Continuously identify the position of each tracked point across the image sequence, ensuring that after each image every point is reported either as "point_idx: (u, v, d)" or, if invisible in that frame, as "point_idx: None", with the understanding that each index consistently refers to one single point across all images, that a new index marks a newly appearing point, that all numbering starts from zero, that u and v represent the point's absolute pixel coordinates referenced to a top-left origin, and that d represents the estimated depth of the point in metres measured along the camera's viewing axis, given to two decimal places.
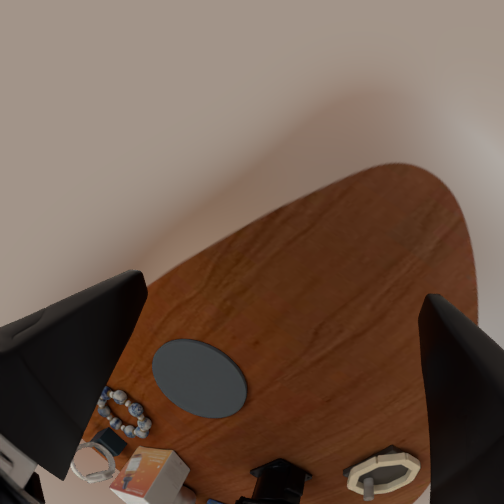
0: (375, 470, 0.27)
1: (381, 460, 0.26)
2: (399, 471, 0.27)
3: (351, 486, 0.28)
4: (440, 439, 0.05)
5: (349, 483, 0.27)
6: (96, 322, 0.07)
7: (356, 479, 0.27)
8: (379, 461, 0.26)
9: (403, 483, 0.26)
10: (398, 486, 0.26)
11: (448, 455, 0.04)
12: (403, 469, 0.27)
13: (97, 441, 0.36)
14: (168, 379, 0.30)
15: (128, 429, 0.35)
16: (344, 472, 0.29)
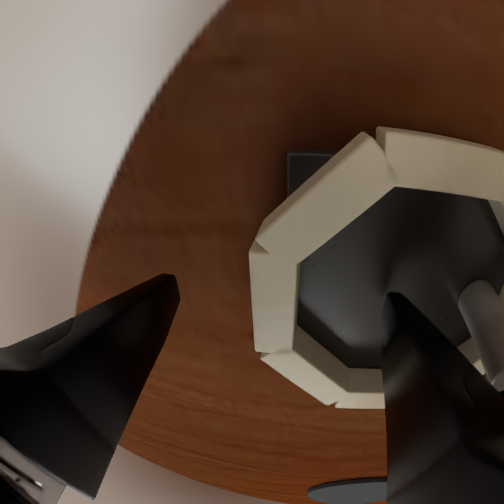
0: None
1: None
2: (375, 236, 0.07)
3: None
4: (395, 443, 0.05)
5: None
6: (131, 331, 0.07)
7: None
8: None
9: (423, 172, 0.05)
10: (459, 171, 0.05)
11: (401, 461, 0.04)
12: (355, 234, 0.08)
13: None
14: (375, 498, 0.21)
15: None
16: None
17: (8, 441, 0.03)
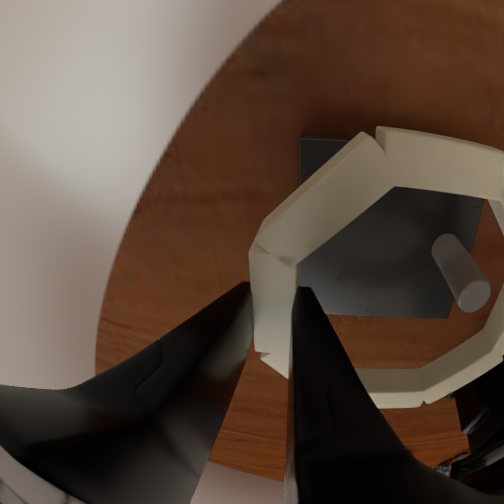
0: (393, 274, 0.12)
1: None
2: None
3: (495, 358, 0.07)
4: (287, 440, 0.06)
5: (476, 376, 0.08)
6: (227, 350, 0.06)
7: (446, 383, 0.08)
8: None
9: (422, 172, 0.05)
10: (459, 171, 0.05)
11: (286, 459, 0.05)
12: None
13: None
14: None
15: None
16: None
17: None
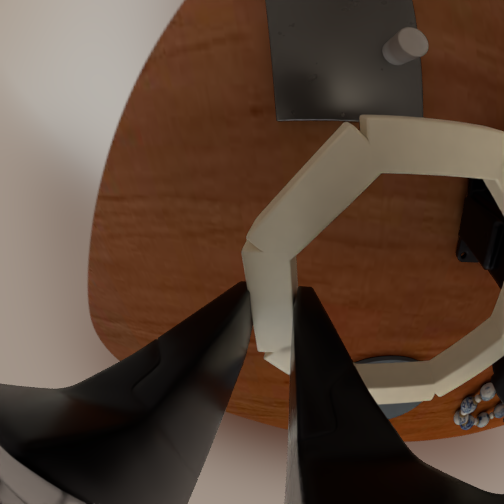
0: (355, 75, 0.12)
1: None
2: (314, 17, 0.11)
3: None
4: (289, 440, 0.06)
5: (487, 365, 0.07)
6: (225, 350, 0.06)
7: (457, 374, 0.08)
8: None
9: (409, 156, 0.05)
10: (447, 151, 0.05)
11: (288, 459, 0.05)
12: (303, 18, 0.11)
13: None
14: (395, 408, 0.24)
15: None
16: None
17: None
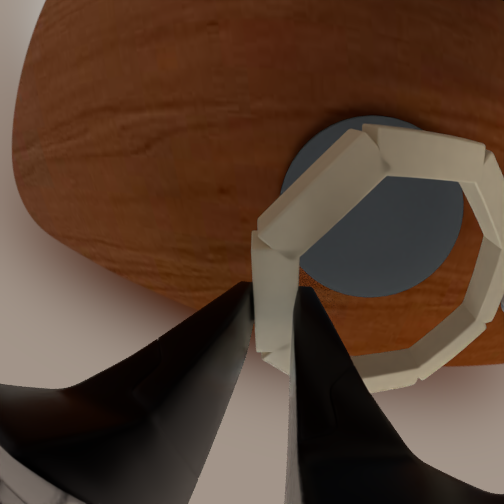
0: None
1: None
2: None
3: (479, 327, 0.09)
4: (289, 440, 0.06)
5: (464, 346, 0.09)
6: (225, 350, 0.06)
7: (438, 357, 0.09)
8: None
9: (410, 162, 0.06)
10: (440, 159, 0.06)
11: (288, 459, 0.05)
12: None
13: None
14: (412, 257, 0.16)
15: None
16: None
17: None
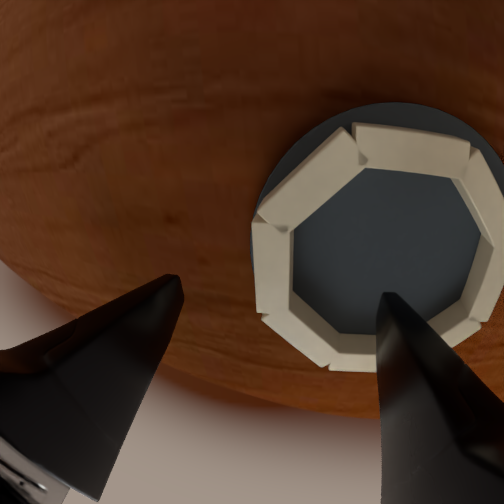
0: None
1: None
2: None
3: (473, 324, 0.09)
4: (389, 443, 0.05)
5: (457, 342, 0.09)
6: (136, 332, 0.07)
7: None
8: None
9: (387, 156, 0.07)
10: (418, 154, 0.07)
11: (395, 462, 0.04)
12: None
13: None
14: None
15: None
16: None
17: (12, 444, 0.03)
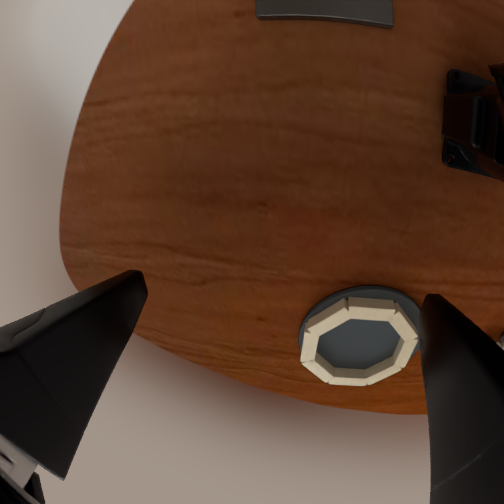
0: None
1: None
2: None
3: (396, 368, 0.22)
4: (440, 439, 0.05)
5: (389, 374, 0.23)
6: (96, 322, 0.07)
7: (375, 376, 0.23)
8: None
9: (359, 315, 0.20)
10: (371, 314, 0.20)
11: (448, 455, 0.04)
12: None
13: None
14: None
15: None
16: (388, 26, 0.11)
17: None
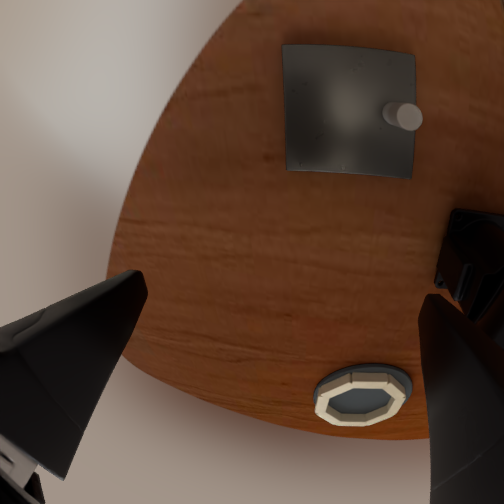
0: (357, 134, 0.15)
1: None
2: (325, 77, 0.14)
3: (389, 415, 0.27)
4: (440, 439, 0.05)
5: None
6: (96, 322, 0.07)
7: (372, 420, 0.28)
8: None
9: (360, 386, 0.25)
10: (369, 385, 0.24)
11: (448, 455, 0.04)
12: (315, 77, 0.14)
13: None
14: None
15: None
16: None
17: None
